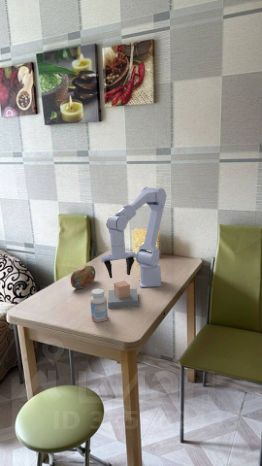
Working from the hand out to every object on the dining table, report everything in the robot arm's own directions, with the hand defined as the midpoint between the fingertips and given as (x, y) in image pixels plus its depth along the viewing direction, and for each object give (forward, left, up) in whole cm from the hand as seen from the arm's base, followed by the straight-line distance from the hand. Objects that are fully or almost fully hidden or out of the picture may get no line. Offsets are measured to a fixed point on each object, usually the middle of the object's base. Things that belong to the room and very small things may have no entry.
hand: (119, 275), depth 148 cm
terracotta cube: (-1, +3, -7) cm, 8 cm away
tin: (+17, -16, -10) cm, 26 cm away
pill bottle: (+8, +17, -10) cm, 21 cm away
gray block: (-1, +3, -10) cm, 11 cm away
